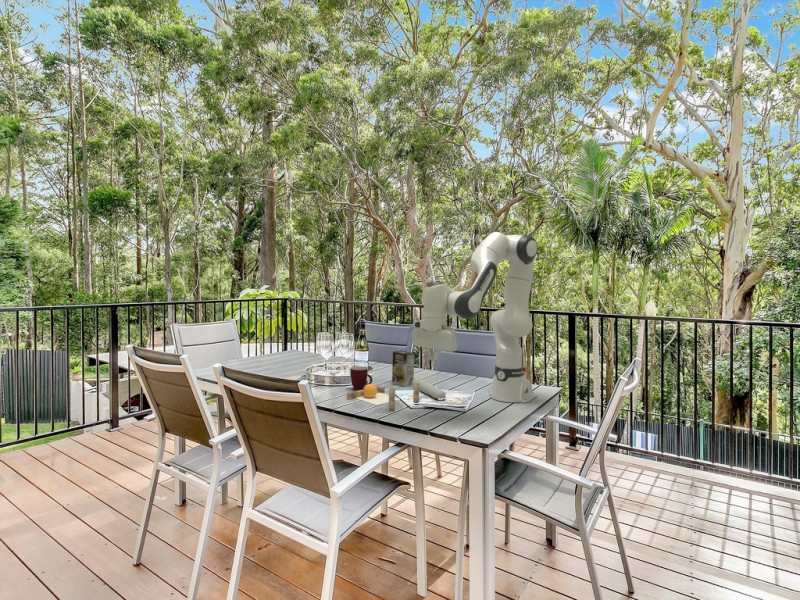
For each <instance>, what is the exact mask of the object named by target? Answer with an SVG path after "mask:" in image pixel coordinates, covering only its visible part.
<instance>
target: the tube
mask: <svg viewBox="0 0 800 600" xmlns="http://www.w3.org/2000/svg"><path fill="white" fill-rule="evenodd" d="M414 382H419V391H420V390H421V391H420V392H422V391H423V392H425V393H427V394H429V395H431V396H433V397H435V398H438V399H439V398H440V399H441V398H445V399H446V398H447V397H446V391H444V390H443V389H442V388H439V387H436V386H435V385H432V384H431V383H428V382H426V381H425V380H422V379H421V378H419V377H415V378H414V380H413V381H412V386H411V387H412V388H414ZM423 392H422V393H423ZM425 393H424V394H425ZM427 394H426V395H427ZM429 395H428V396H429ZM431 396H430V397H431ZM433 397H432V398H433ZM435 398H434V399H435Z"/></svg>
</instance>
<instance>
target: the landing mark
mask: <svg viewBox="0 0 800 600" xmlns="http://www.w3.org/2000/svg"><path fill="white" fill-rule="evenodd" d="M400 399H401V398H399V397H396V396H395V402H397V401H400ZM355 400H359V401H362V402H366V403H368V404H370V405H374V406H379V405H385V404H389V394H386V393H384V392H382V393H377V394H376V395H375V396H374V397H373V398H368V397H366V396H362V397H357V398H355Z"/></svg>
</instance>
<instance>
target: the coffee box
mask: <svg viewBox="0 0 800 600" xmlns="http://www.w3.org/2000/svg"><path fill="white" fill-rule="evenodd" d="M391 369H392V373H391V374H392V376H391V378H392V380H391V384H392V385H396V386H400V387H404V388H407V387H412V386H411V385H412V381H413V380H414V372H415V352H412V351H408V350H407V351H405V350H395V351H392V368H391Z"/></svg>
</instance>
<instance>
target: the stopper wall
mask: <svg viewBox="0 0 800 600" xmlns="http://www.w3.org/2000/svg"><path fill="white" fill-rule="evenodd" d="M376 388H377V393H385V392H386V390H385V389H386V387H385V386H383V385H380V386H376ZM363 390H364V389H363ZM363 390H359V391H358V390H354V391H351V392H347V393H346V399H347V400H349V399H350V400H355V399H356V398H357V397H362V396H365V395H364V392H363ZM354 398H355V399H354Z"/></svg>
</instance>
